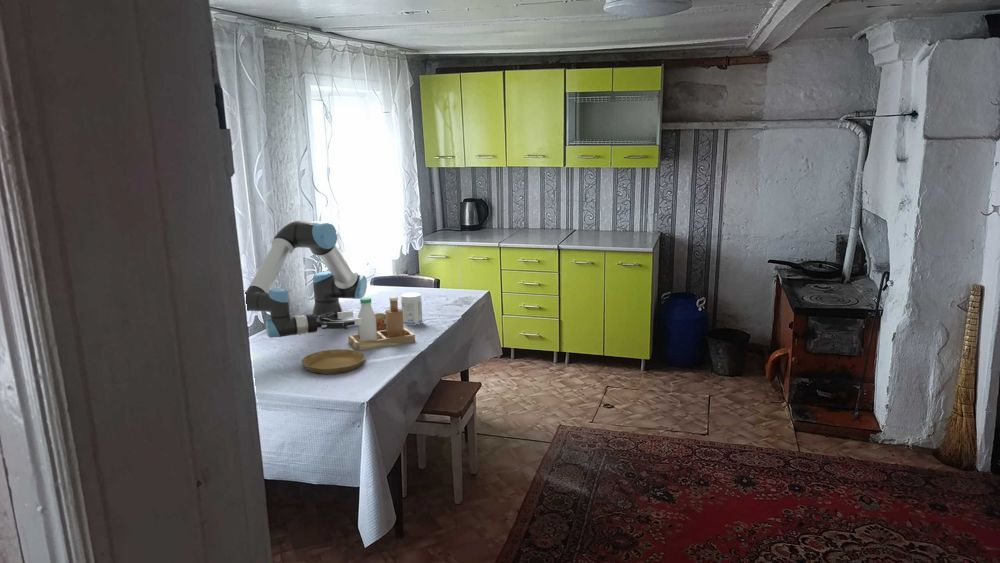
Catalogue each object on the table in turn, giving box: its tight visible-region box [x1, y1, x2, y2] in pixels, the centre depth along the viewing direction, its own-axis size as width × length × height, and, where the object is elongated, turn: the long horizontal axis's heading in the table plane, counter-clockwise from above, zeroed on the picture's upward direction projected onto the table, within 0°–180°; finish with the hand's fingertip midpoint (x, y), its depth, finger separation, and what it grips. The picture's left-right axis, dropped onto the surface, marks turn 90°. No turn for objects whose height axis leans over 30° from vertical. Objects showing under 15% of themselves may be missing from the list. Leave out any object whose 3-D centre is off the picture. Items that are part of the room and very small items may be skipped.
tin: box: [375, 312, 386, 331], centre depth 308 cm, size 15×3×8 cm, turn 129°
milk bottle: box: [357, 297, 378, 342], centre depth 285 cm, size 8×8×20 cm
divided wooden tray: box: [348, 326, 416, 351], centre depth 290 cm, size 13×26×4 cm, turn 117°
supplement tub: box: [400, 292, 423, 326], centre depth 319 cm, size 10×10×15 cm
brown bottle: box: [384, 296, 405, 338], centre depth 291 cm, size 8×8×19 cm
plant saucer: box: [301, 348, 366, 375], centre depth 263 cm, size 24×24×3 cm
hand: (357, 317), depth 283 cm, fingers open, 13 cm apart
